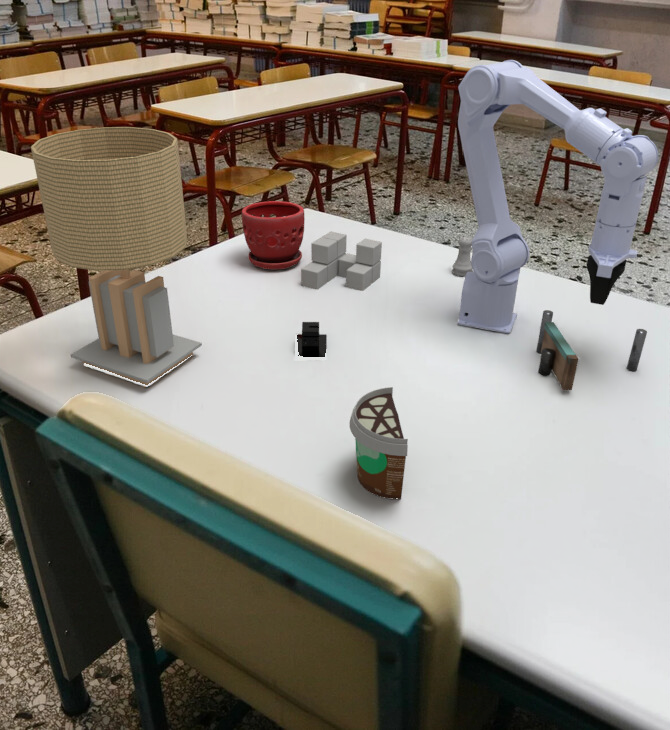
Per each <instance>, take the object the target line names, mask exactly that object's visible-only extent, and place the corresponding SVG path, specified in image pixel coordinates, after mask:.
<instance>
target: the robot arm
mask: <svg viewBox="0 0 670 730" xmlns="http://www.w3.org/2000/svg"><path fill="white" fill-rule="evenodd" d="M458 92H459V97H460V105H459V112H458V117H457V118H458V120H457V127H458V131H459V136H460V142H461V148H462V151H463V157H464V161H465V167H466V172H467V177H468V182H469V185H470V190H471V196H472V201H473V205H474V211H475V216H476V220H477V225H478V227H477V230H476V231H475V234H474V235H473V236H472V242H471V243H472V245H471V248H472V255H471V257H470V259H471V266H472V270H473V272H467V274H466V276H465V277H464V279H463V284H462V291H461V298H460V307H459V314H458V315H459V316H458V321H457V324H458V325H459V326H460V325H461V326H465V327H471V328H477V329H482V330H486V331H487V330H488V331H491V332H497V333H503V334H511V332H512V329H513V326H514V323H515V321H516V318H517V316H518V314H517V313H516V312H514V310H515V309H514V308H515V303H516V296H517V289H518V284H519V283H518V282H519V277H520V274H521V268H522V267H524V266H525V265H527V263H528V261H529V258H530V248H529V245H528V243H527V241H526V240H525V239H524V237H523V234H522V231H521V227H520V226H519V224H517V223H516V222H514V221H513V220H512V219H511V215H510V210H509V204H508V200H507V195H506V194H507V193H506V189H505V184H504V179H503V174H502V173H503V172H502V167H501V163H500V158H499V152H498V147H497V141H496V136H495V130H494V125H495V124H496V123H497V121H498V120H499V118H500V117H501V115H502V114H503V112H504V111H505V110H506V109H508V108H509V107H510V106H512V105H524V106H525V107H527V108H529V109H530V110H532V111H534V112H535V113H536V114H538V115H540V116H541V117H543V118H545V119H546V120H548V121H549V122H551V123H553V124H554V125H556V126H558V127H560V128H561V129H562V130H563V131H564V135H565V141H566V142H567V144H569V145H570V146H572V147H573V148H575V149H576V150H577V151H579V152H580V153H581V154H583V155H585V156H586V157H587V158H588V159H591V160H592V161H594V163H596V164H597V165H598V166H600V169H601V172H602V175H603V177H604V180H603V181H604V182H603V187H602V191H601V193H600V194H601V196H600V200H599V204H598V210H597V214H596V218H595V219H596V220H595V222H594V228H593V233H592V237H591V241H590V243H589V245H588V250H587V251H588V253H589V255H588V257H587V261H586V269H587V272H588V276H589V284H590V287H589V288H590V289H589V299H590V303H591V304H595V305H600V306H602V305H603V306H604V305H605V303H606V302H607V299H608V298H609V296H610V293H611V291H612V289H613V287H614V285H615V283H616V282H617V281H618V279H619V278H620V277H621V276H622V275H623V274H624V272H625V269H626V266H627V265H626V264H627V259H636V258H637V255H638V251H637V250H636V249H632V248H631V246H632V242H633V239H634V233H635V231H636V230H635V229H636V225H637V223H638V217H639V213H640V209H641V205H642V201H643V198H644V192H645V187H646V183H647V179H648V176H647V175H648V174H649V173H650V172H652V171H653V170H654V168H655V167H656V165H657V163H658V161H659V151H658V148H657V145H656V144H655V142H653V141H652V140H651V139H650V138H649V136H647V135H643V134H635V135H632V134H633V131H632V130H631V129H630V128H629V127H627V128H622V126H619V125H618V124H617V123H615V122H614V121H612V120H611V119H609V118H608V117H607V116H606V115H607V111H606V110H604V109H603V108H596V109H595V108H593V107H587V108H585V109H579V108H578V107H576V106H575V105H574V104H573V103H571V102H570V101H569V100H567V98H565V97H563V96H562V95H561V94H560V93H559V92H557V91H556V90H554V89H553V88H552V87H550V86H549V84H547V83H546V82H545V81H543V80H542V79H541V78H539V76H537V75H536V74H535V72H534V71H533V70H532V69H531V68H528V67H527V66H523V65H522V63H520V62H519V61H517V60H514V59H508V60H504V61H502V62H495V63H489V64H477V65H475V66H473V67H471V68H470V69H468V71H467V72H466V74H465V75H464V77H463V78H462V80H461V81H460V83H459V84H458Z"/></svg>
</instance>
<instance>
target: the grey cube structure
mask: <svg viewBox="0 0 670 730" xmlns="http://www.w3.org/2000/svg"><path fill="white" fill-rule="evenodd" d="M382 245H383V242H382V241H378V240H374V239H371V238H370V239H369V238H364V239H362V240H361V241H359V242H358V243H356V249H355V251H356V253H355V254H351V253H347V234H345V233H341V232H340V233H339V232H334V231H329V232H327V233H326V234H323V235H322V236H321V237H319V238H318V239H316V240H314V241H312V242H311V249H310V250H311V262H309V263H308V264H306V265H305V266H303V267H301V268H300V272H301V273H300V274H301V275H300V276H301V279H300V280H301V283H300V284H301V286H302V287H306V288H308V289H309V288H310V289H313V290H317V291H318V290H320V289H321V288H322V287H324V286H325V285H327V283H330V282H331V281H332V280H333V279H335V278H336V277H337V276H338V277H341V278H346V280H345V281H346V282H345V283H346V284H345V287H346V288H349V289H354V290H358V291H362V292H364V291H365V290H366V289H367V288H368V287H370V286H371V285H372V284H374V283H375V282H376V281H378V280H379V279H380V278H381V267H382V266H381V265H382Z"/></svg>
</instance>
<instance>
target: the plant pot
mask: <svg viewBox="0 0 670 730" xmlns="http://www.w3.org/2000/svg"><path fill="white" fill-rule="evenodd" d="M271 215H274V217H273V216H272V217H271ZM305 219H306V218H305V209H304V208H303V206H302V205H300V204H298V203H294V202H289V201H280V200H275V201H274V200H271V201H260V202H256V203H252V204H249V205H246V206H244V207H243V208H242V210H241V220H242V221H241V224H242V230H243V235H244V240H245V242H246V245H247V247H248V249H249V252H248V255H247V257H248V258H247V259H248V261H249V262H250V263H251V264H252V265H254V266H255V267H257V268H261V269H265V270H273V271H274V270H287V269H289V268H291V267H294V266H296V265H298V263H299V262H300V261H301V260H302V257H303V253H302V251H301V250H300V247H301V246H302V243H303V240H304V232H305Z"/></svg>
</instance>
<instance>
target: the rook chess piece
mask: <svg viewBox="0 0 670 730" xmlns="http://www.w3.org/2000/svg"><path fill="white" fill-rule="evenodd" d="M472 239H473V236H471V235H467V234H464V235H460V236H459V239H458V240H457V242H458V244H459V246H458V247H457V249H458V254H457V258H456V260H455V261H454V263H453V264H452V269H451V271H452V274H453V275H455V276H457V277H460V278H461V277H462V278H465V276H466V274H467V272H473V269H472V266H471V251H473V249H472V243H471V242H472Z"/></svg>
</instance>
